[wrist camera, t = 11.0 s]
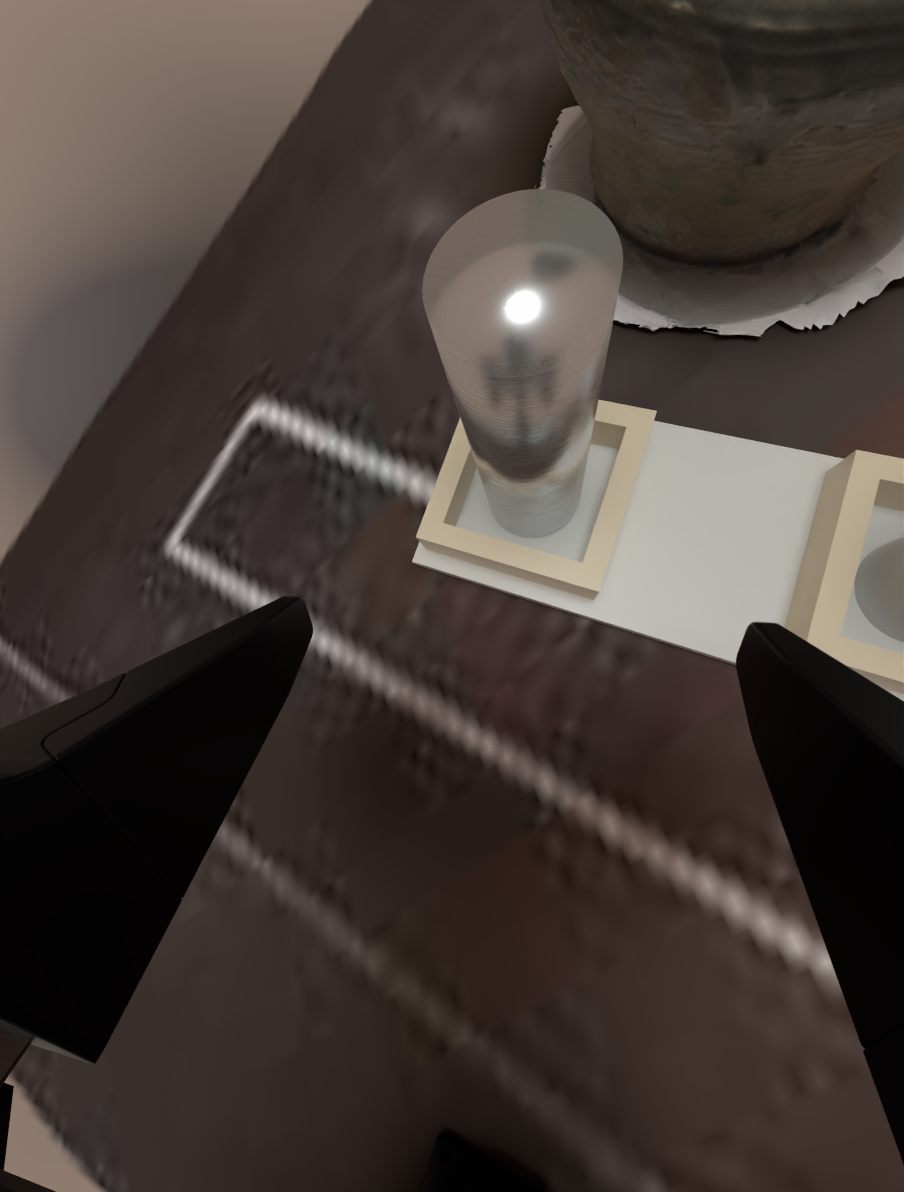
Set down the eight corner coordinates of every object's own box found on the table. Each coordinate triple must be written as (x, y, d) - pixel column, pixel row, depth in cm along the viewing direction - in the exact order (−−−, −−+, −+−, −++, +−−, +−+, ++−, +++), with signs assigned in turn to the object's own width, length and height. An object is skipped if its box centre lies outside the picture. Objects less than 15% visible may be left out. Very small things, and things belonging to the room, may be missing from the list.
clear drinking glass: (541, 555, 21) (535, 397, 9) (471, 505, 23) (385, 305, 11) (599, 484, 21) (667, 236, 9) (526, 437, 23) (502, 162, 11)
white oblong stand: (1022, 755, 17) (2390, 963, 4) (415, 564, 23) (263, 424, 11) (1070, 512, 18) (2270, 126, 6) (479, 392, 24) (410, 81, 12)
